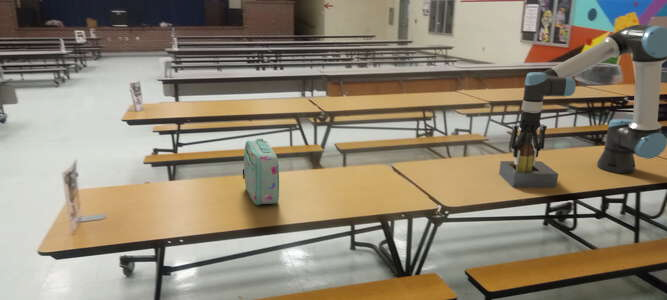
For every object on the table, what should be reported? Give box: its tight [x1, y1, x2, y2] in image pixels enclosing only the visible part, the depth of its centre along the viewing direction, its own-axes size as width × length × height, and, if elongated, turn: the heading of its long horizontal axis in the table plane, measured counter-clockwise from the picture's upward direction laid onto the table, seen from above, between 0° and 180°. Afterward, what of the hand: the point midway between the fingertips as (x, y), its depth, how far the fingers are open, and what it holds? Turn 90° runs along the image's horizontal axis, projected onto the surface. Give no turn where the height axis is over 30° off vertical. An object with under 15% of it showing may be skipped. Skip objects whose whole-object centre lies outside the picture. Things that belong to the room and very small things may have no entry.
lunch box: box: [242, 138, 280, 206], centre depth 179 cm, size 27×10×21 cm, turn 21°
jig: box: [498, 160, 559, 189], centre depth 199 cm, size 18×16×6 cm
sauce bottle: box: [516, 133, 535, 171], centre depth 197 cm, size 7×6×20 cm
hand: (524, 164), depth 198 cm, fingers closed on sauce bottle, 6 cm apart
